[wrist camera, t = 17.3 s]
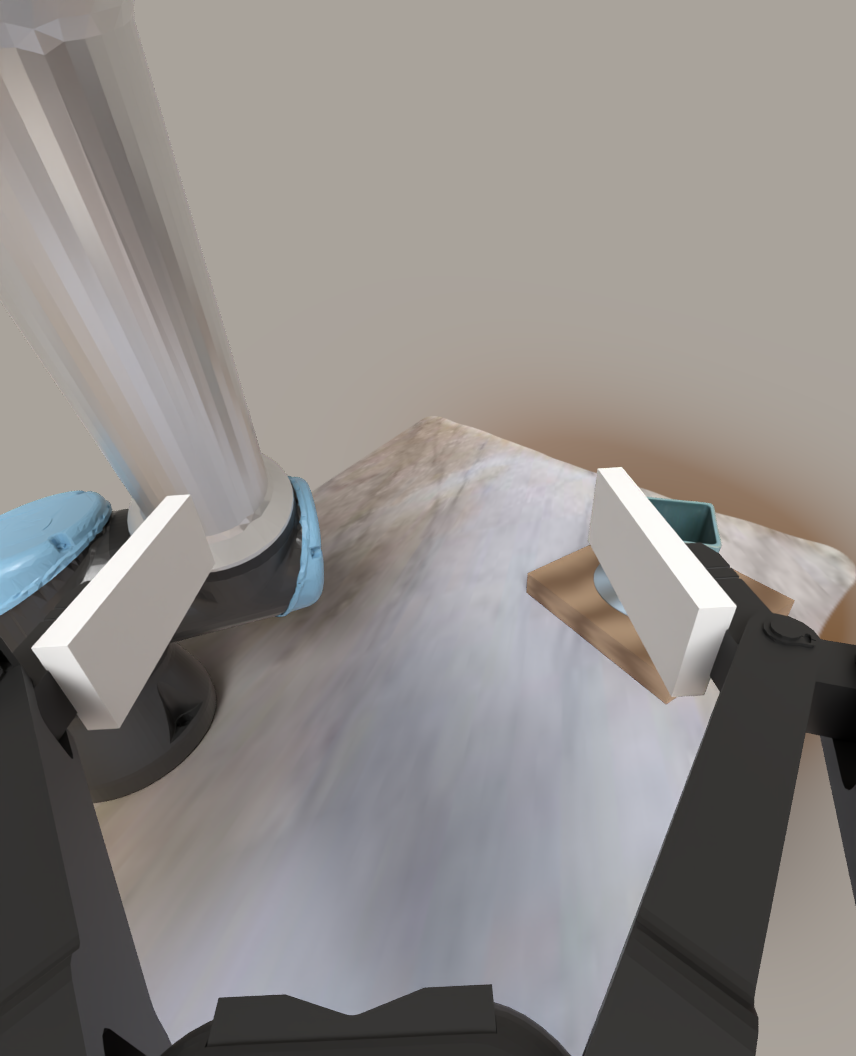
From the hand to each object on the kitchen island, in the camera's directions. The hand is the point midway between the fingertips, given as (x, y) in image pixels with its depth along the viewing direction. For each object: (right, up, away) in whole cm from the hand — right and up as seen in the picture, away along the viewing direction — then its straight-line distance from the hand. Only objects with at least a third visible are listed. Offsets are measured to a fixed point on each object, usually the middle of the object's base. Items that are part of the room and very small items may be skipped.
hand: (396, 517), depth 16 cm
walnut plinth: (+27, -10, +42) cm, 51 cm away
